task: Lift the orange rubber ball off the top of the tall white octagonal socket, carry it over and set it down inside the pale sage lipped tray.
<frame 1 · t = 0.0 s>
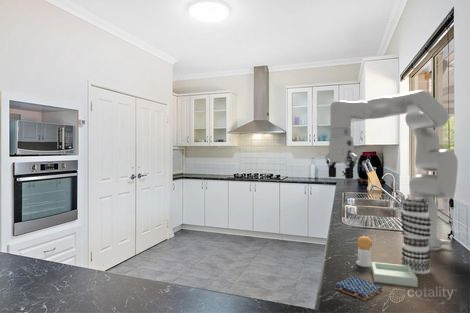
hand: (340, 177, 122), 31 cm above the counter, tool pointing down, fingers open, 9 cm apart
patterned cylinder: (415, 269, 110), on the counter
ball: (364, 249, 115), point 5 cm above the counter, touching white octagonal socket
woven mat: (358, 292, 93), on the counter
white octagonal socket: (364, 264, 115), on the counter
tray: (392, 277, 103), on the counter
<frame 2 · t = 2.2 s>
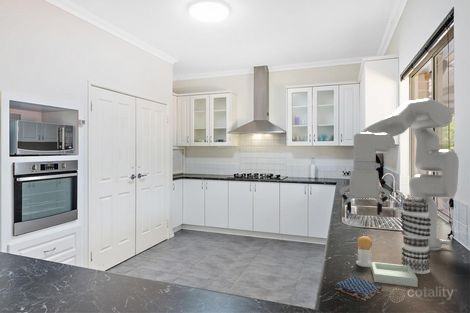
hand: (364, 213, 115), 19 cm above the counter, tool pointing down, fingers open, 9 cm apart
nothing on the counter moved.
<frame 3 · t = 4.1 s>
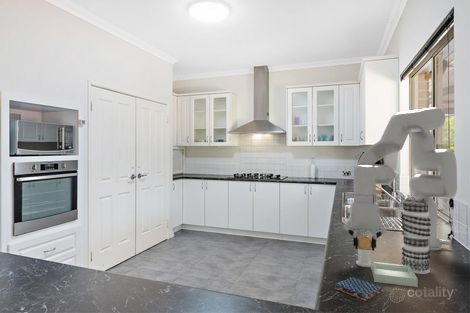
hand: (364, 248, 115), 6 cm above the counter, tool pointing down, fingers closed on ball, 4 cm apart
ball: (364, 249, 115), point 5 cm above the counter, touching white octagonal socket, gripper
everything else where it was.
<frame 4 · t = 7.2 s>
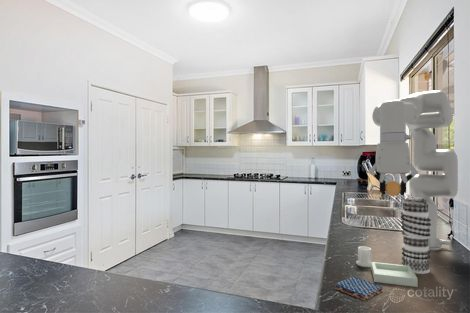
hand: (392, 194, 103), 27 cm above the counter, tool pointing down, fingers closed on ball, 4 cm apart
ball: (392, 195, 103), point 27 cm above the counter, touching gripper
everything else where it was.
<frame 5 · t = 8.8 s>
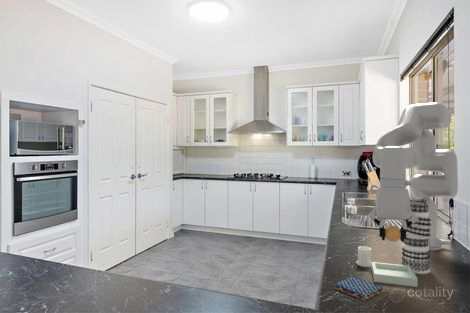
hand: (392, 239, 103), 12 cm above the counter, tool pointing down, fingers closed on ball, 4 cm apart
ball: (392, 241, 103), point 12 cm above the counter, touching gripper
everything else where it was.
when the fingers open (4 cm above the counter, at t = 10.2 s): ball drops 2 cm, resting on tray.
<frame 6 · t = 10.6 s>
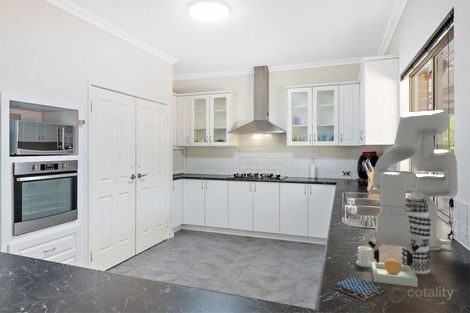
hand: (392, 263, 103), 5 cm above the counter, tool pointing down, fingers open, 8 cm apart
ball: (392, 274, 103), point 1 cm above the counter, touching tray
everything else where it was.
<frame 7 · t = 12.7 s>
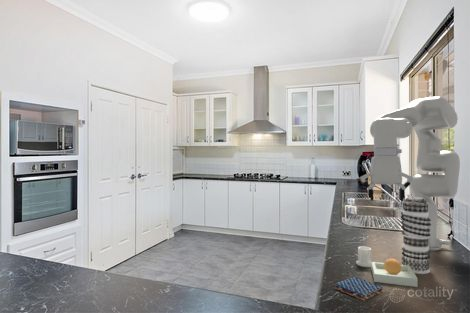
hand: (386, 200, 114), 24 cm above the counter, tool pointing down, fingers open, 9 cm apart
nothing on the counter moved.
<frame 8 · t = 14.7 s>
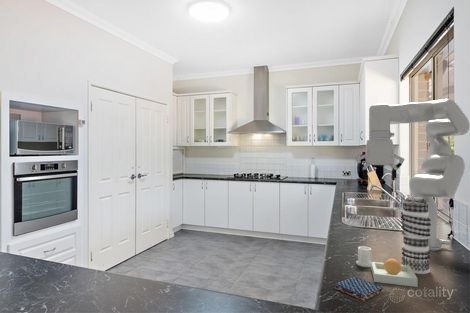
hand: (379, 179, 123), 30 cm above the counter, tool pointing down, fingers open, 9 cm apart
nothing on the counter moved.
at the end: ball inside the target area on the tray (0.0 cm from its centre), point 1.0 cm above the tray's base; the gripper is holding nothing; ball touching tray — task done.
